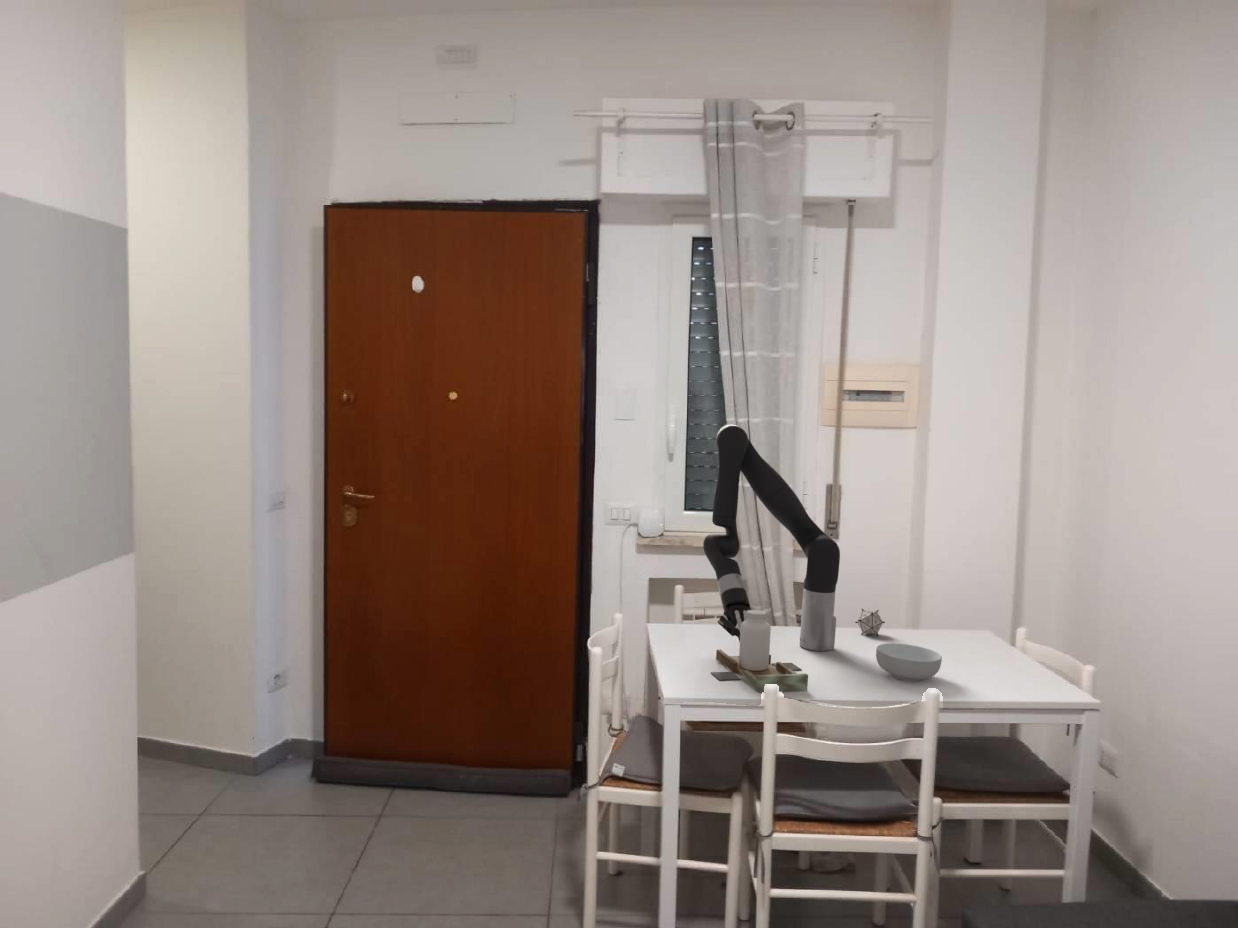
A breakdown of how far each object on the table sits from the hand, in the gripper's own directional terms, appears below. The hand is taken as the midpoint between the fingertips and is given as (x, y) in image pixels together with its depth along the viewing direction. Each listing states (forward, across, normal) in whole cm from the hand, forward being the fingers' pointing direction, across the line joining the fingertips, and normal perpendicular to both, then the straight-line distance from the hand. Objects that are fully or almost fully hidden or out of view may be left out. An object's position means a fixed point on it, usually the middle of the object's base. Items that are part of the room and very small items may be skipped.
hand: (746, 648), depth 239 cm
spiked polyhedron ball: (-16, +53, +22) cm, 60 cm away
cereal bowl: (+13, +40, -7) cm, 43 cm away
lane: (+9, 0, -2) cm, 9 cm away
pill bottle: (+6, 0, 0) cm, 6 cm away
